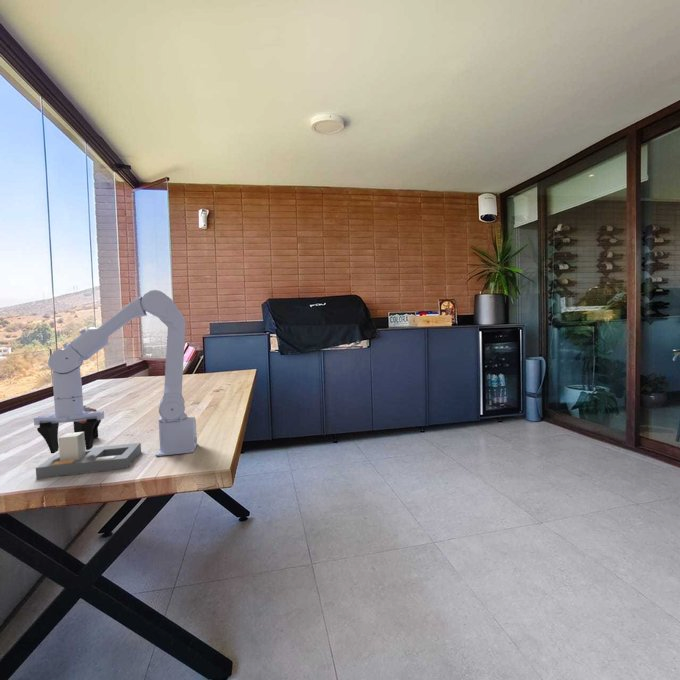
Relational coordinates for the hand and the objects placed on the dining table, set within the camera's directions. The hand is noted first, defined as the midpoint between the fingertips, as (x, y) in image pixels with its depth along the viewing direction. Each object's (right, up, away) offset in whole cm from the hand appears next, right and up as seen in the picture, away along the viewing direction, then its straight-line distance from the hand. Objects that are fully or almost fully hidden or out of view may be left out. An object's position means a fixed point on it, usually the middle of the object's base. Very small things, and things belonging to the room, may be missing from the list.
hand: (72, 450), depth 91 cm
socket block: (+4, -4, +1) cm, 6 cm away
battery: (-13, -4, +24) cm, 27 cm away
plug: (0, -4, 0) cm, 4 cm away
